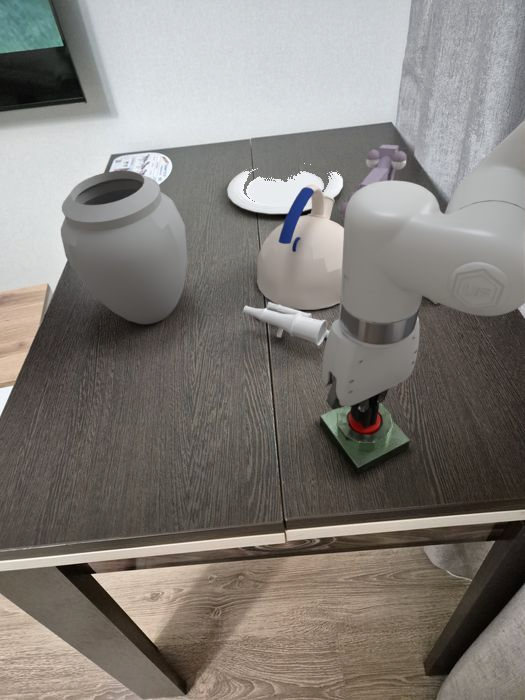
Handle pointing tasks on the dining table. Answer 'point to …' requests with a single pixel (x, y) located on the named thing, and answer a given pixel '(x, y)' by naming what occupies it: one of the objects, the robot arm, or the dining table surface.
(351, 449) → the switch block
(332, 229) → the kettle
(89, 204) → the vase
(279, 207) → the plate
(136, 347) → the dining table surface
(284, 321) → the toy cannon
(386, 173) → the lavender toy animal
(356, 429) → the button
